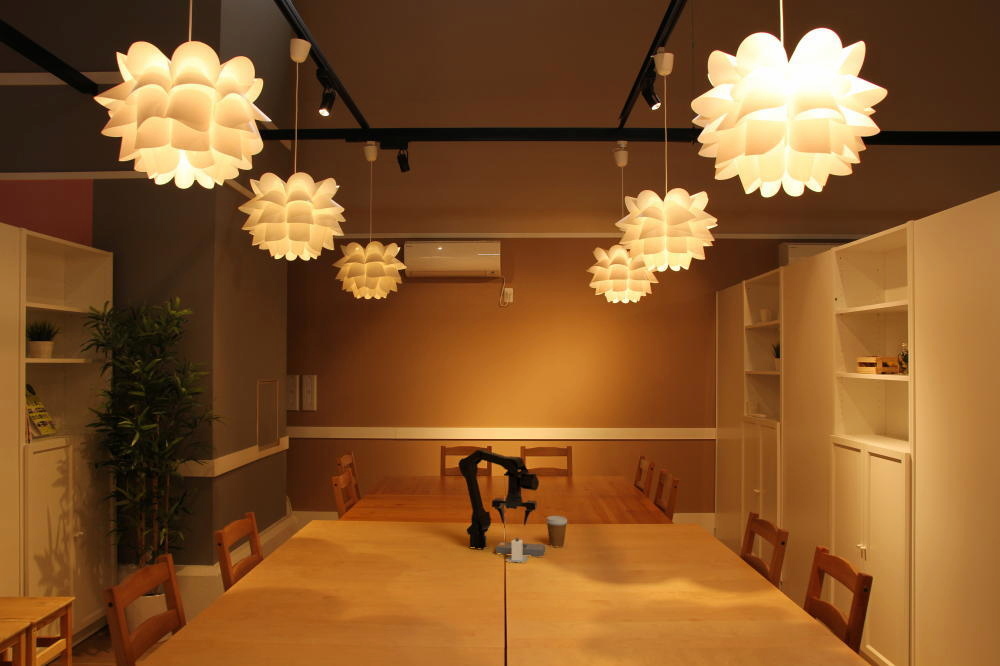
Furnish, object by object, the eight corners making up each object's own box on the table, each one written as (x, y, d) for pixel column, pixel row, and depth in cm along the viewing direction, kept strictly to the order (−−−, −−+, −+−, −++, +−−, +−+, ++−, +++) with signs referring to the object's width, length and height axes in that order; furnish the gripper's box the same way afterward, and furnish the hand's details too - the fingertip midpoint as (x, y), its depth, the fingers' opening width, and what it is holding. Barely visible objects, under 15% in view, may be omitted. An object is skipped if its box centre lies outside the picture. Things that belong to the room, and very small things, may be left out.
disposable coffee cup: (568, 548, 267) (568, 520, 267) (546, 548, 267) (546, 520, 267) (566, 542, 276) (566, 515, 277) (545, 542, 276) (545, 515, 277)
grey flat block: (495, 554, 258) (495, 545, 258) (499, 548, 266) (499, 540, 266) (542, 557, 254) (542, 548, 254) (545, 551, 262) (545, 543, 262)
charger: (511, 559, 249) (511, 539, 250) (513, 556, 253) (513, 536, 253) (521, 560, 248) (521, 539, 249) (522, 557, 252) (522, 537, 253)
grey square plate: (505, 562, 247) (505, 560, 247) (509, 556, 255) (509, 554, 255) (525, 563, 246) (525, 562, 246) (528, 557, 254) (528, 556, 254)
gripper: (489, 489, 253) (488, 527, 252) (533, 492, 249) (532, 531, 248) (495, 484, 264) (494, 520, 263) (537, 487, 260) (536, 524, 259)
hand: (514, 524), depth 258 cm, fingers open, 9 cm apart
